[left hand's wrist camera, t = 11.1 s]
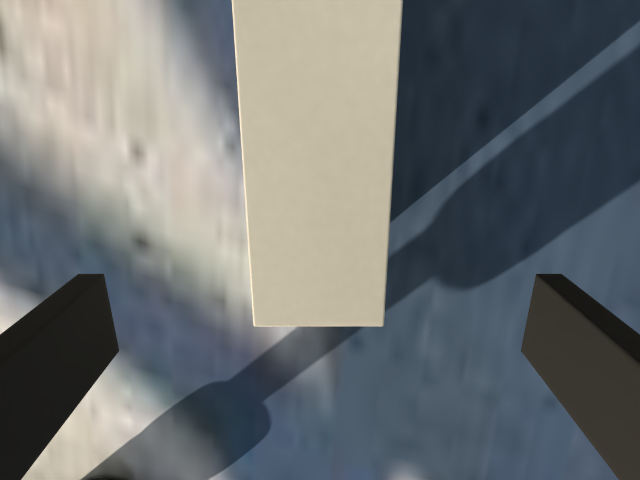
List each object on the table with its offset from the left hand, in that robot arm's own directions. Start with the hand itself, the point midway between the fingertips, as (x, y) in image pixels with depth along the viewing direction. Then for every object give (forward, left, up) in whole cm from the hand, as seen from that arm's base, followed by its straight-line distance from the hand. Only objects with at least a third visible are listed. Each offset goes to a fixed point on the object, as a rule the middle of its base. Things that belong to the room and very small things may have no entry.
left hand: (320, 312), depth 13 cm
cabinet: (+4, 0, -17) cm, 17 cm away
